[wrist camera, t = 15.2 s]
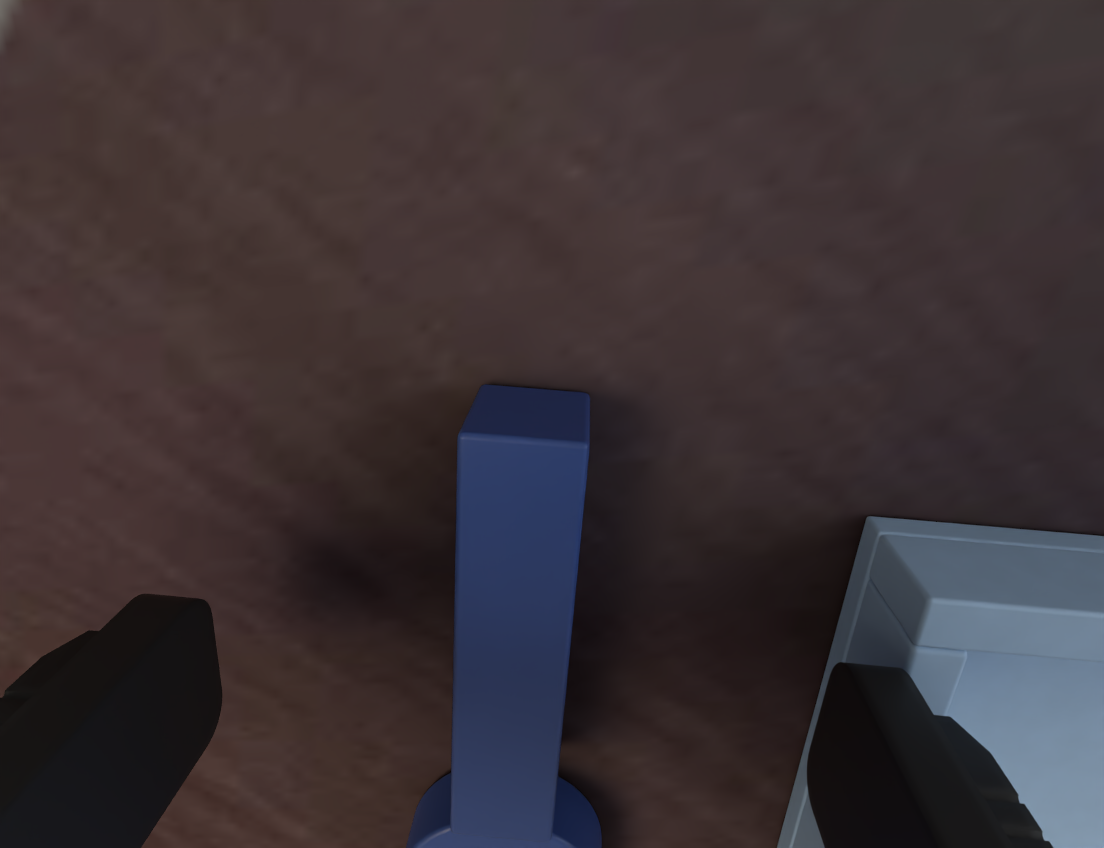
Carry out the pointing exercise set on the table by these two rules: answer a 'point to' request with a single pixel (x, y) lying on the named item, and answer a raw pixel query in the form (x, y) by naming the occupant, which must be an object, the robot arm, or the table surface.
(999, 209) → the table surface
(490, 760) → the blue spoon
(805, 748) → the blue tray
